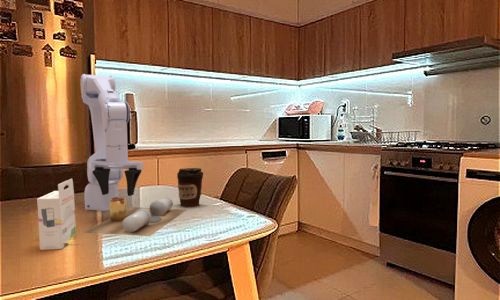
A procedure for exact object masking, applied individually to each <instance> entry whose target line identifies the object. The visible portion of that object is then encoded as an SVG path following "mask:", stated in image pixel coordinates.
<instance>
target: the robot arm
mask: <svg viewBox="0 0 500 300" xmlns="http://www.w3.org/2000/svg"><path fill="white" fill-rule="evenodd" d="M79 81H80V83H79V85H80V93H81V99H82V103H84V104H85V105H87V106H88V109H89V112H90V118H91V126H92V134H93V142H94V143H93V144H94V151H95V153H93V154H92V155H91V156H89V158H88V159H87V162H86V163H87V165H86V167H87V168H86V173H87V180H88V183H87V185H86V186H85V188H84V192H83V193H84V210H87V211H88V210H90V211H97V212H98V211H100V212H103V211H106V212H107V211H110V200H112V198H114V197H119V183H120V181H122V179H123V178H124V175H125V180H126V193H127V196H128V197H131V196H133V195H134V194H135V188H136V185H137V182H138V180H139V177H140V176H141V173H142V170H143V169H144V161H135V160H134V161H133V160H129V154H128V153H129V152H128V151H129V150H128V123H129V120H130V114H131V113H130V106H129V103H128V101H122V99H121V98H120V96H119V94H118V93H117V92H116V79H115V77H114V76H113V75H101V74H100V75H97V74H96V75H95V74H86V73H82V75H81V76H80V80H79Z"/></svg>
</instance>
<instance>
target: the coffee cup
mask: <svg viewBox="0 0 500 300" xmlns="http://www.w3.org/2000/svg"><path fill="white" fill-rule="evenodd" d="M203 177H204V172H202V168H199V167H188V168H187V167H185V168H179V169H178V172H177V174H176V178H177V183H178V184H177V187H178V188H177V189H178V198H179V203H180V207H183V208H197V207H200V199H201V196H202V189H203V184H202V183H203V179H204V178H203Z"/></svg>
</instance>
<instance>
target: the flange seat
mask: <svg viewBox="0 0 500 300" xmlns="http://www.w3.org/2000/svg"><path fill="white" fill-rule="evenodd" d="M161 220H162V218H160V217H151V222H150V223H155V222H159V221H161Z"/></svg>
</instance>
